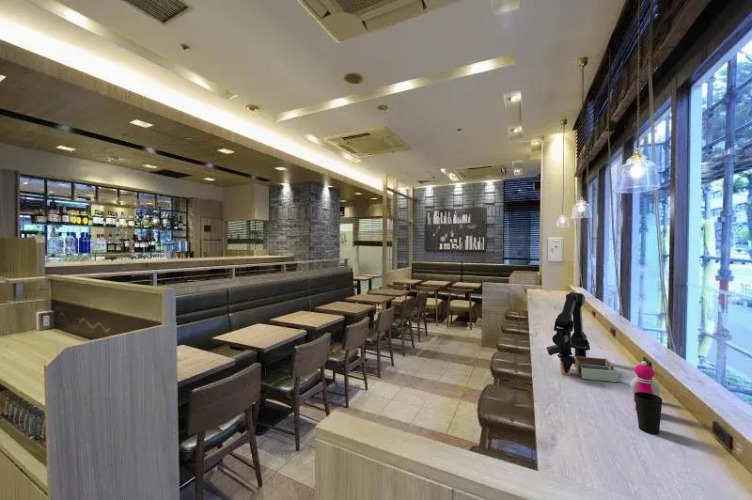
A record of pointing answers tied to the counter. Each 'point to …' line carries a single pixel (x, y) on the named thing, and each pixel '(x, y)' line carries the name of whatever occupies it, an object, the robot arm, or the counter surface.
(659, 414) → the cup
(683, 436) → the counter surface
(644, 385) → the pepper mill
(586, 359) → the sleeve
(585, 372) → the tray
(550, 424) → the counter surface
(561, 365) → the block
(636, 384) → the donut
